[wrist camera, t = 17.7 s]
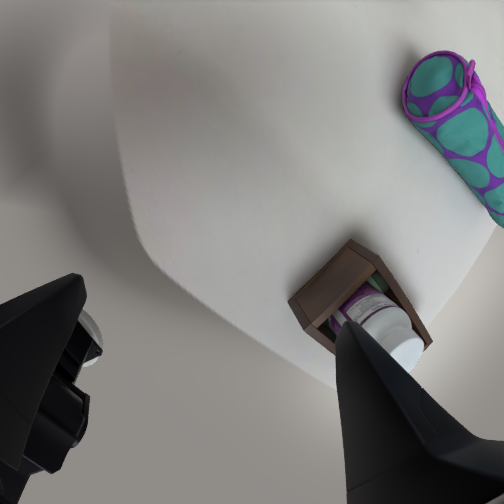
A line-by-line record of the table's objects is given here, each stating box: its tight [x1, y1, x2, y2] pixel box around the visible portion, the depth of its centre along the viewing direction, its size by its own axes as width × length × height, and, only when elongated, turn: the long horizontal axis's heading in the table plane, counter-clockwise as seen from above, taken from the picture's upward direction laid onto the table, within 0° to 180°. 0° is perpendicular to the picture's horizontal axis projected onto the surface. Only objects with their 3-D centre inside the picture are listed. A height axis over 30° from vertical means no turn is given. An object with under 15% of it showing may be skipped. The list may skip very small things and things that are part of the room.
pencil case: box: [402, 51, 504, 228], centre depth 18 cm, size 21×9×10 cm, turn 65°
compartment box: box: [288, 239, 433, 355], centre depth 24 cm, size 8×15×5 cm, turn 45°
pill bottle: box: [326, 281, 424, 373], centre depth 20 cm, size 5×5×10 cm
